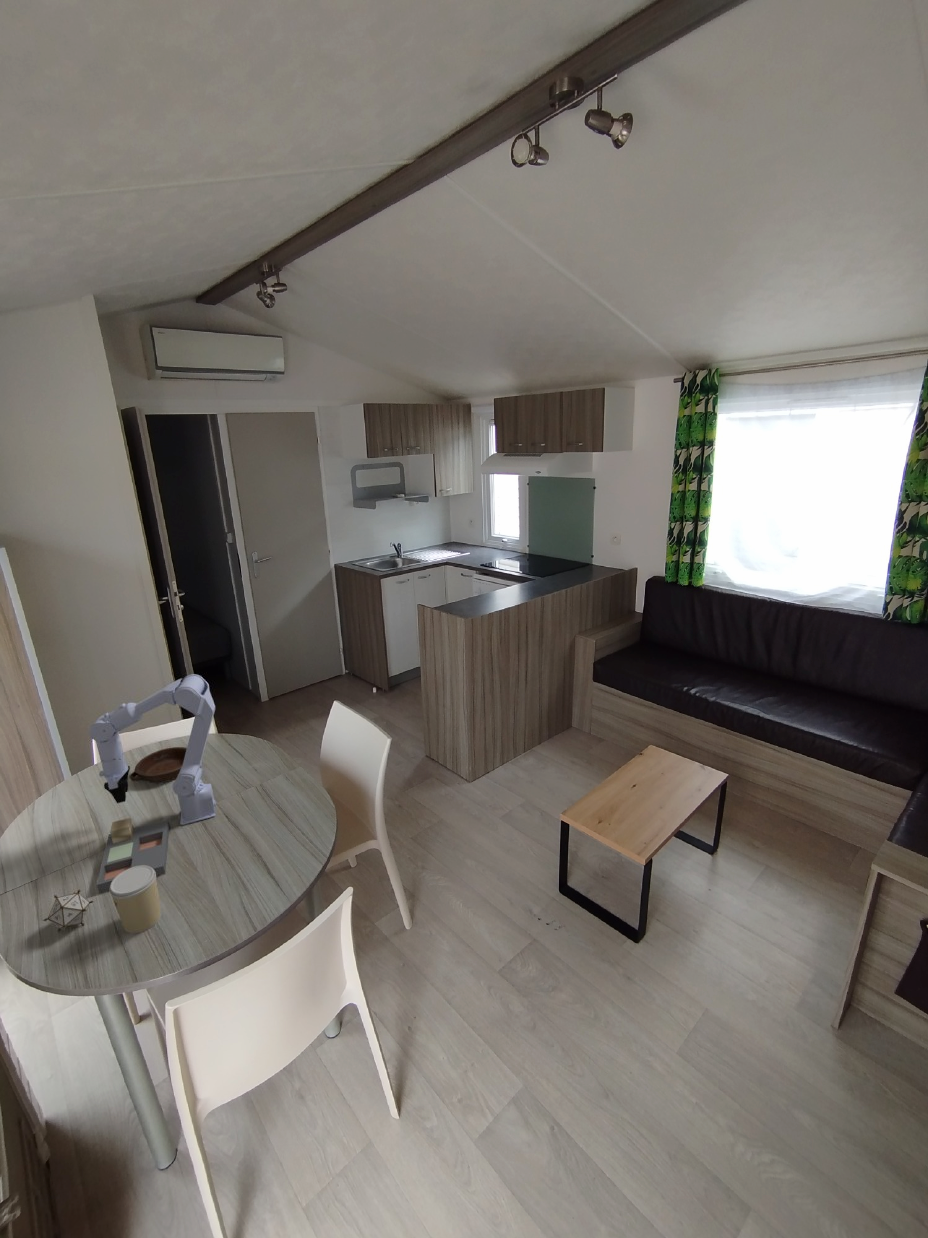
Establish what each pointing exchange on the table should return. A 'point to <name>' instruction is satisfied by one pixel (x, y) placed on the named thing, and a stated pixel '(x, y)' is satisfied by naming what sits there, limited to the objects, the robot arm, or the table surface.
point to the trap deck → (135, 853)
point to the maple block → (121, 830)
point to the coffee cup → (136, 898)
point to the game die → (68, 910)
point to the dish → (160, 765)
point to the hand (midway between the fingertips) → (122, 797)
